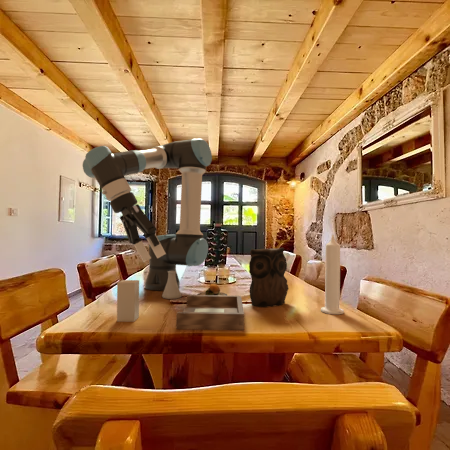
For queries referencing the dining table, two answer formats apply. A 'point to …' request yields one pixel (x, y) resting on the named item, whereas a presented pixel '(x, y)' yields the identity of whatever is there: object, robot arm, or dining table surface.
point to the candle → (332, 278)
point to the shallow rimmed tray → (211, 313)
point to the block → (128, 300)
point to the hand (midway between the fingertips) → (154, 258)
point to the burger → (213, 291)
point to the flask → (171, 287)
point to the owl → (268, 277)
